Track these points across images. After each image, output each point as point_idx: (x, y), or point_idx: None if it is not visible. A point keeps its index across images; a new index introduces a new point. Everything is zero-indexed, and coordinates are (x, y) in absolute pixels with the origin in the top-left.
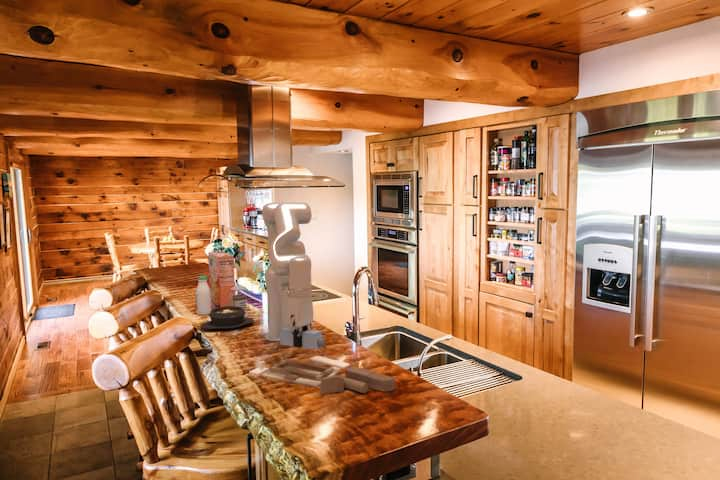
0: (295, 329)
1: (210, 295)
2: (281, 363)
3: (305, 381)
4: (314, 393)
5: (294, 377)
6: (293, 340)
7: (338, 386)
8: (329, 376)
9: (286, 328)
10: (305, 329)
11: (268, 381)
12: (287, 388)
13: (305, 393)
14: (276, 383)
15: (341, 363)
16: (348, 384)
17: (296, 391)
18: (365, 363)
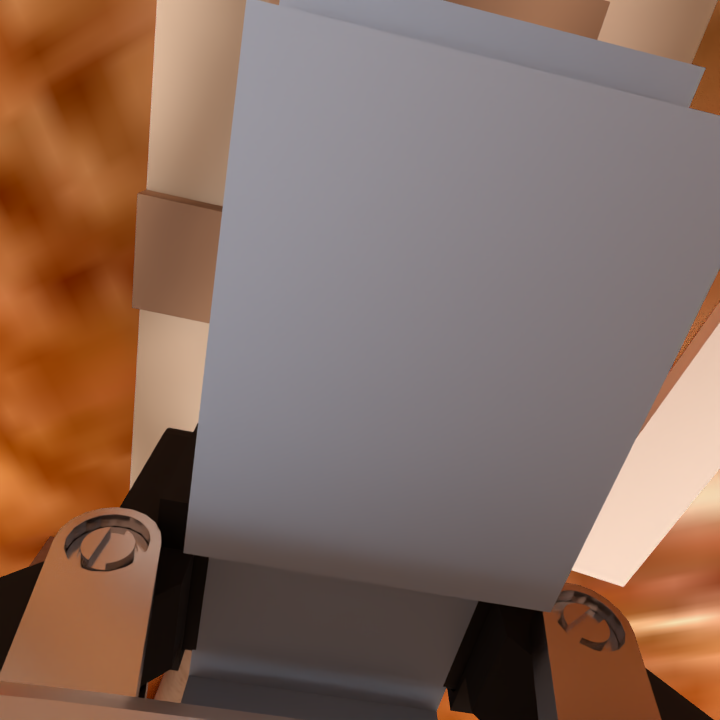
0: (122, 691)
1: None
2: (461, 4)
3: (170, 397)
4: (37, 500)
5: (162, 305)
6: (194, 429)
7: None
8: None
9: (434, 219)
10: (521, 709)
11: (75, 28)
12: (18, 290)
13: (6, 448)
14: (68, 142)
15: (628, 534)
16: (160, 687)
17: (3, 379)
18: (669, 648)
